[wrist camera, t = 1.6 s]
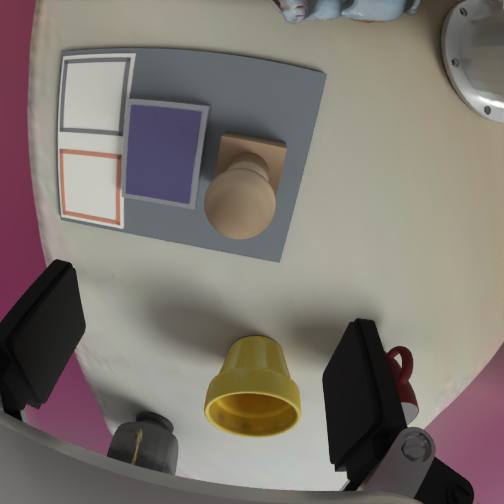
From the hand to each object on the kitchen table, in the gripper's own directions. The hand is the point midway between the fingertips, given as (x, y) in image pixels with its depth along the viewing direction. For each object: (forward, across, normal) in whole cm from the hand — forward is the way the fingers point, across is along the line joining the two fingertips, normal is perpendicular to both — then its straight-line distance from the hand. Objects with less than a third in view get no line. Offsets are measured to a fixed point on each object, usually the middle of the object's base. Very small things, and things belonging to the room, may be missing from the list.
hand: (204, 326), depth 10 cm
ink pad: (+20, +7, 0) cm, 21 cm away
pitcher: (+20, +9, +47) cm, 52 cm away
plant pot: (+20, -5, +23) cm, 31 cm away
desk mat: (+20, +7, 0) cm, 21 cm away
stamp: (+19, 0, 0) cm, 19 cm away
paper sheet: (+20, +15, 0) cm, 25 cm away
